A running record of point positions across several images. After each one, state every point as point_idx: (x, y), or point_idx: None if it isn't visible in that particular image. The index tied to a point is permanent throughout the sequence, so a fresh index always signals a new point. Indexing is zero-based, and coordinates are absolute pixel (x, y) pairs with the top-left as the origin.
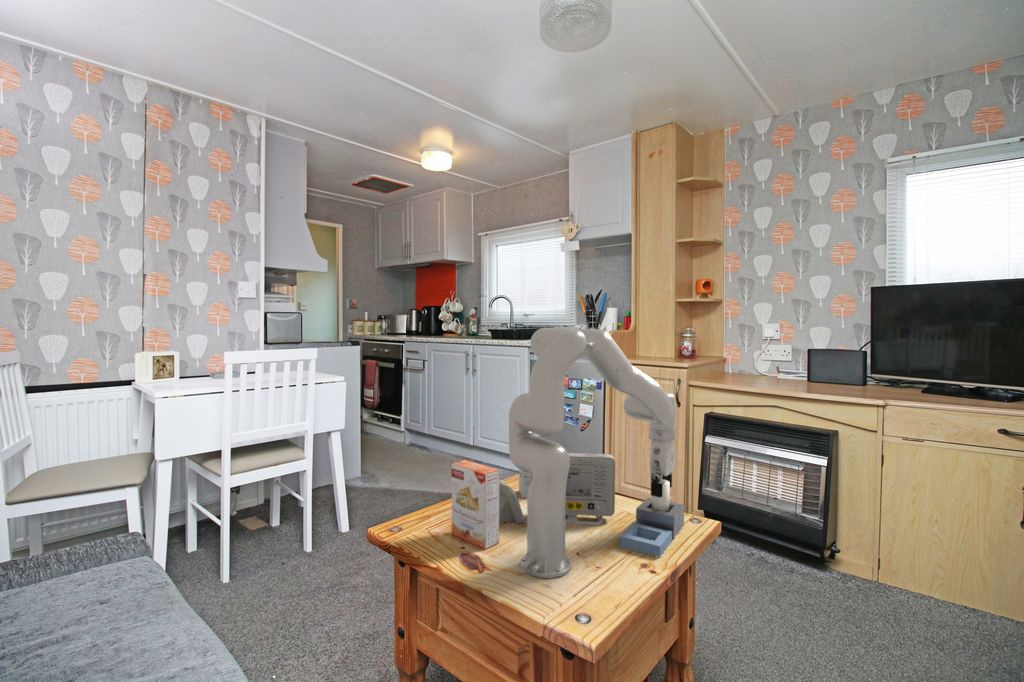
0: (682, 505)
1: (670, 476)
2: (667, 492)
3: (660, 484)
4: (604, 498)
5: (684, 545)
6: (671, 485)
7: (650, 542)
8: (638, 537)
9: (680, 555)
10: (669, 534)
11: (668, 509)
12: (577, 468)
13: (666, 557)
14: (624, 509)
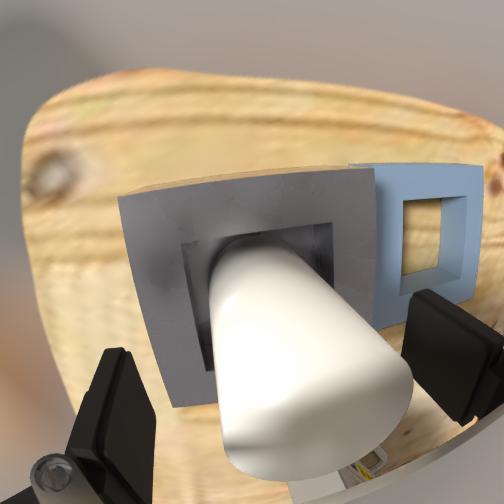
0: (137, 201)
1: (106, 437)
2: (333, 299)
3: (497, 346)
4: (347, 470)
5: (344, 113)
6: (115, 354)
7: (477, 202)
8: (466, 250)
9: (417, 110)
10: (403, 164)
11: (267, 247)
12: None
13: (448, 147)
14: (170, 426)
